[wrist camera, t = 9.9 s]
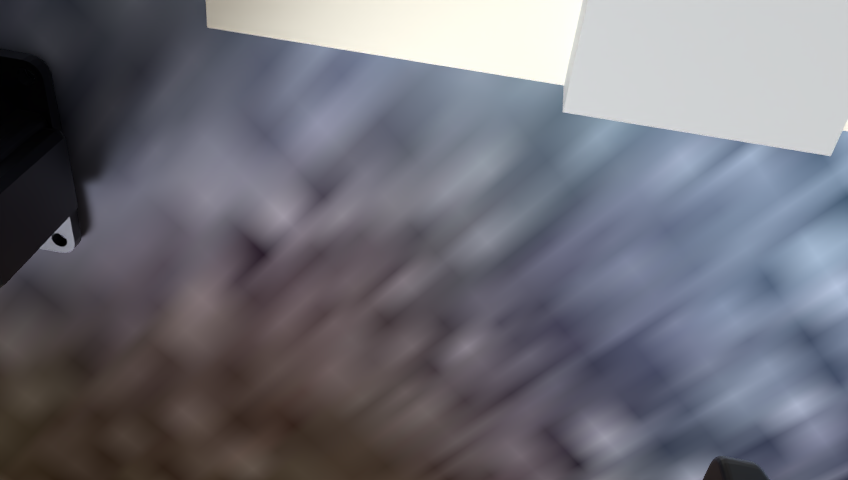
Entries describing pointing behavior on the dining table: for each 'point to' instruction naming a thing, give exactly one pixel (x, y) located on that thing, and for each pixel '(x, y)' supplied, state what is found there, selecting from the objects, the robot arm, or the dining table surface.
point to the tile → (417, 30)
